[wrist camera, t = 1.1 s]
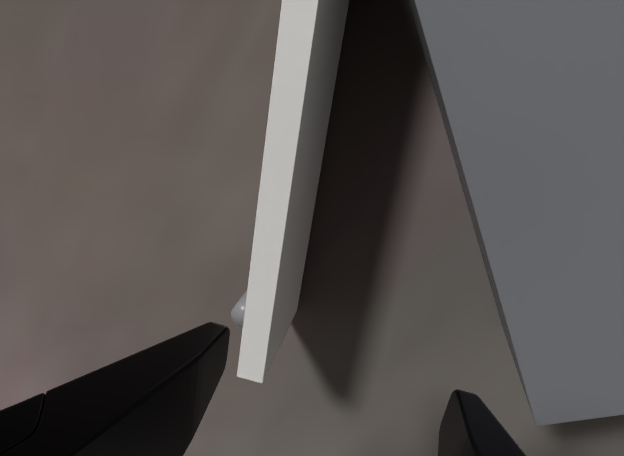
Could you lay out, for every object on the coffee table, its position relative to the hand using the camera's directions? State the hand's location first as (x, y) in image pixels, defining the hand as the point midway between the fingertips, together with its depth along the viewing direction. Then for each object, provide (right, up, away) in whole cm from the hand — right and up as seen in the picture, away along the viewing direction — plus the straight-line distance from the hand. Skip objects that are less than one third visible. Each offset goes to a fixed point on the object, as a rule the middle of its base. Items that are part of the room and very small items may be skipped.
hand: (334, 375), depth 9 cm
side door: (-1, +7, +10) cm, 12 cm away
